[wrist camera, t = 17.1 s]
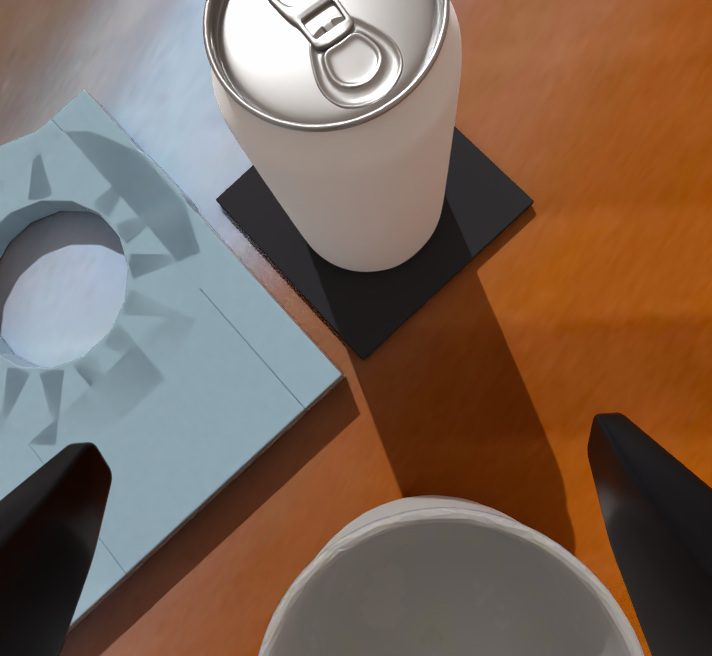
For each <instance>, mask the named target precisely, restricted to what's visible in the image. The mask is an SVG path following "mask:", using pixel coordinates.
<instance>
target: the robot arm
mask: <svg viewBox="0 0 712 656" xmlns="http://www.w3.org/2000/svg"><path fill="white" fill-rule="evenodd" d="M588 458H589V462H590V466H591V470H592V474H593V478H594V482H595V486H596V490H597V494H598V498H599V502H600V506H601V510H602V514H603V518H604V522H605V526H606V530H607V534H608V538H609V541H610V544H611V547H612V550H613V553H614V556H615V559H616V561H617V564H618V567H619V569H620V572H621V575H622V577H623V580H624V583H625V585H626V588H627V591H628V593H629V596H630V599H631V601H632V604H633V606H634V609H635V612H636V614H637V617H638V620H639V622H640V625H641V628H642V630H643V633H644V636H645V638H646V641H647V644H648V646H649V649H650V652H651V654H652V656H712V488H710V487H709V486H708V485H707V484H706V483H704V482H703V481H702V480H701V479H700V478H698V477H697V476H696V475H695V474H694V473H692V472H691V471H690V470H689V469H688V468H687V467H685V466H684V465H683V464H682V463H681V462H679V461H678V460H677V459H676V458H675V457H673V456H672V455H671V454H670V453H669V452H667V451H666V450H665V449H664V448H663V447H661V446H660V445H659V444H658V443H657V442H656V441H654V440H653V439H652V438H651V437H650V436H648V435H647V434H646V433H645V432H644V431H642V430H641V429H640V428H639V427H638V426H636V425H635V424H634V423H633V422H632V421H630V420H629V419H628V418H627V417H626V416H624V415H623V414H621V413H602V414H597V415H595V417H594V419H593V423H592V427H591V432H590V437H589V442H588ZM111 483H112V472H111V469H110V467H109V465H108V464H107V462H106V460H105V459H104V457H103V456H102V454H101V452H100V451H99V449H98V447H97V446H96V445H95V444H94V443H92V442H82V443H72V444H69V445H67V446H66V447H65V448H63V449H62V450H61V451H60V452H59V453H57V454H56V455H55V456H54V457H53V458H51V459H50V460H49V461H48V462H46V463H45V464H44V465H43V466H42V467H40V468H39V469H38V470H37V471H35V472H34V473H33V474H32V475H31V476H29V477H28V478H27V479H26V480H24V481H23V482H22V483H21V484H20V485H18V486H17V487H16V488H15V489H14V490H12V491H11V492H10V493H9V494H7V495H6V496H5V497H4V498H3V499H1V500H0V656H60V653H61V650H62V647H63V644H64V641H65V639H66V636H67V633H68V630H69V627H70V624H71V621H72V619H73V616H74V613H75V610H76V607H77V604H78V601H79V599H80V596H81V593H82V590H83V587H84V584H85V581H86V579H87V576H88V573H89V570H90V567H91V564H92V560H93V557H94V553H95V550H96V546H97V542H98V538H99V533H100V529H101V525H102V521H103V517H104V512H105V508H106V504H107V500H108V496H109V491H110V487H111Z"/></svg>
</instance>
